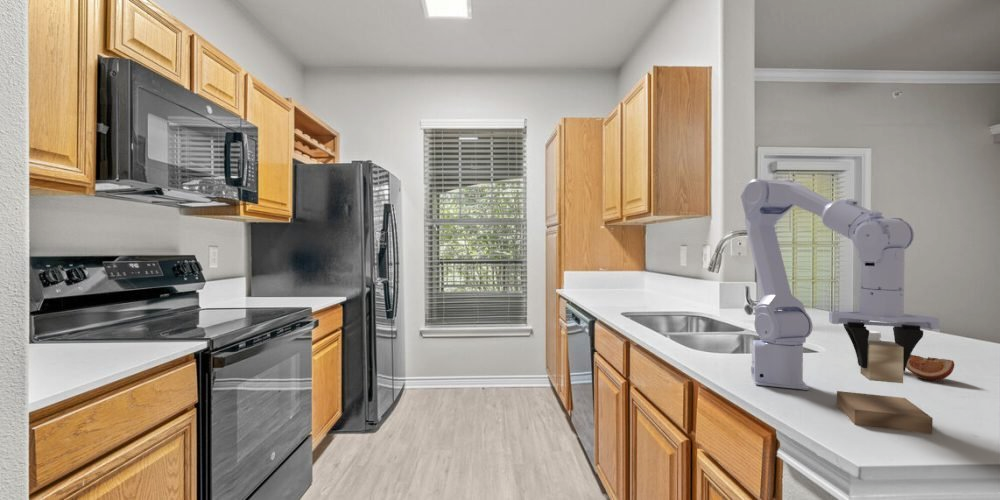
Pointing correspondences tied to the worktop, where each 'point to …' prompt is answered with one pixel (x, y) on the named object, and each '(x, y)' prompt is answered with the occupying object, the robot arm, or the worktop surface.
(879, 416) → the walnut block
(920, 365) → the fruit slice
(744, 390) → the worktop surface
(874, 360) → the birch block
